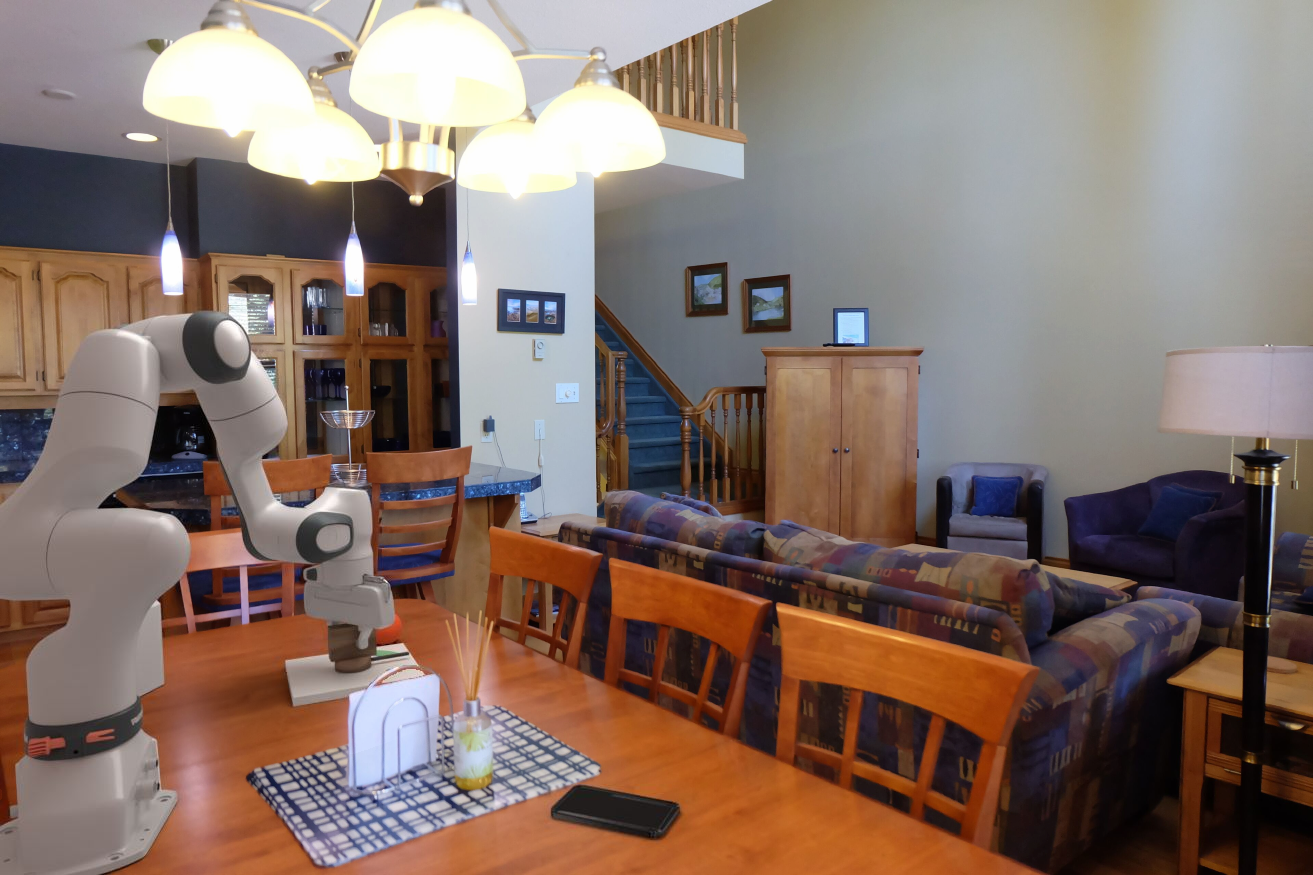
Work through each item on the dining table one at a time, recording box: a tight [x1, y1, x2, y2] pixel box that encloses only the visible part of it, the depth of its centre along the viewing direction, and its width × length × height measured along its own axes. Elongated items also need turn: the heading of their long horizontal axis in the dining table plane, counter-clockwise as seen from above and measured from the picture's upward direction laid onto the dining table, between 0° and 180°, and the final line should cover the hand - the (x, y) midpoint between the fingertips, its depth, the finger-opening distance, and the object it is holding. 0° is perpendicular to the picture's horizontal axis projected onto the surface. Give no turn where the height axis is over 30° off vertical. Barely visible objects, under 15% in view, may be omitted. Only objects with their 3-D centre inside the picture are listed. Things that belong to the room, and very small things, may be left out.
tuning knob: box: [327, 623, 410, 673], centre depth 156 cm, size 6×14×8 cm, turn 120°
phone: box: [550, 784, 681, 840], centre depth 104 cm, size 8×1×15 cm
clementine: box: [376, 613, 403, 646], centre depth 174 cm, size 8×7×7 cm
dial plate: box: [284, 642, 426, 707], centre depth 155 cm, size 22×22×2 cm
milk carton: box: [136, 599, 165, 698], centre depth 148 cm, size 7×7×19 cm
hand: (350, 645), depth 155 cm, fingers closed on tuning knob, 5 cm apart
